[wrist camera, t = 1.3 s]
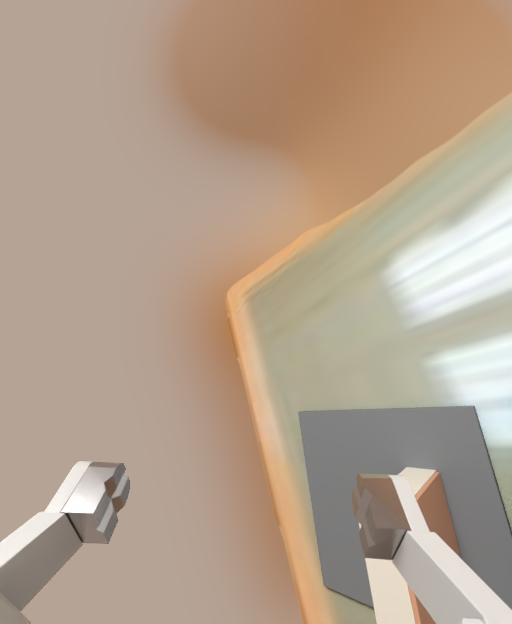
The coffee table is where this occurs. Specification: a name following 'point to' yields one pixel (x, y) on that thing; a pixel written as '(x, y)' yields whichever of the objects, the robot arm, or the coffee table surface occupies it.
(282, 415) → the coffee table surface
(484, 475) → the mat
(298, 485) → the coffee table surface
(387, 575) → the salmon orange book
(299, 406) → the coffee table surface
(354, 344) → the coffee table surface
